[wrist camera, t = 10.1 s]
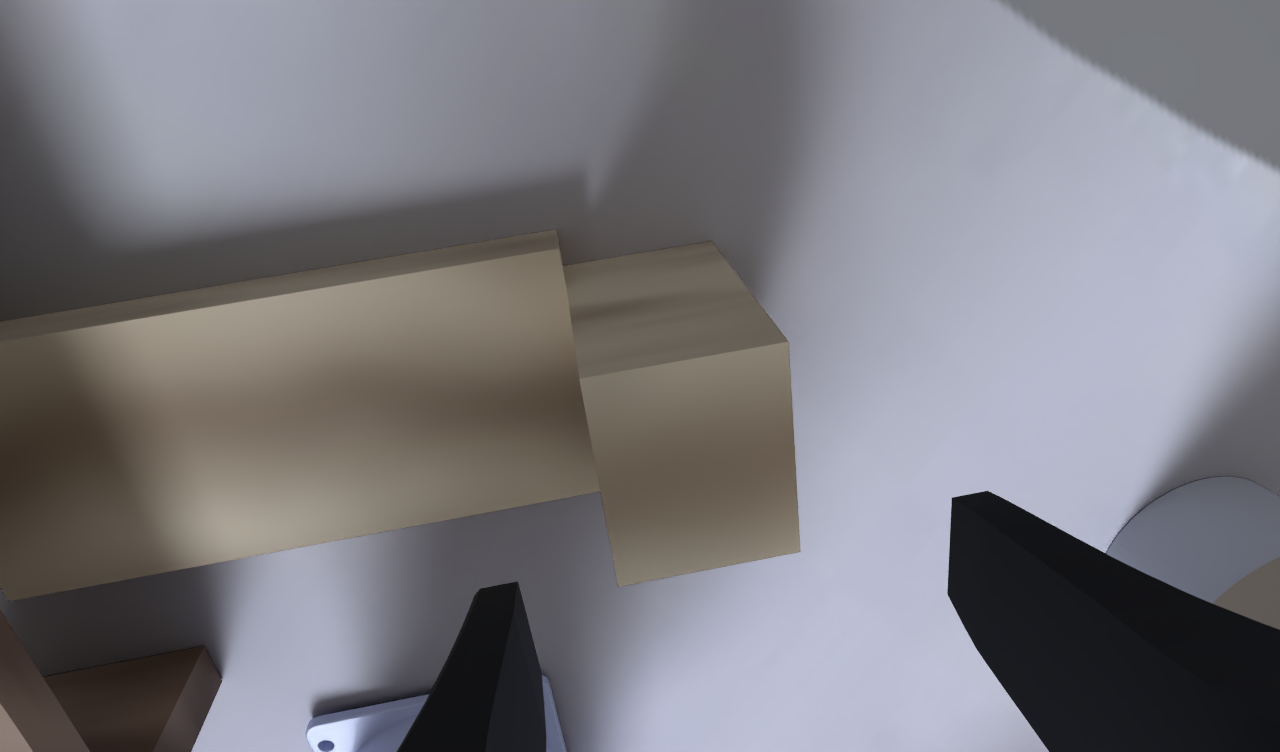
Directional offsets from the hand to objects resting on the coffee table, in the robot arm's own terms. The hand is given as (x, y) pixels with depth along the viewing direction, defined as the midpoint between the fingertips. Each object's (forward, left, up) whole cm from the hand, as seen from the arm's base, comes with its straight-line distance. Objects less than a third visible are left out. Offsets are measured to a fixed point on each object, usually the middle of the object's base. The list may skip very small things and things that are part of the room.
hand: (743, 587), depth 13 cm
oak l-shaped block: (0, +8, -10) cm, 13 cm away
